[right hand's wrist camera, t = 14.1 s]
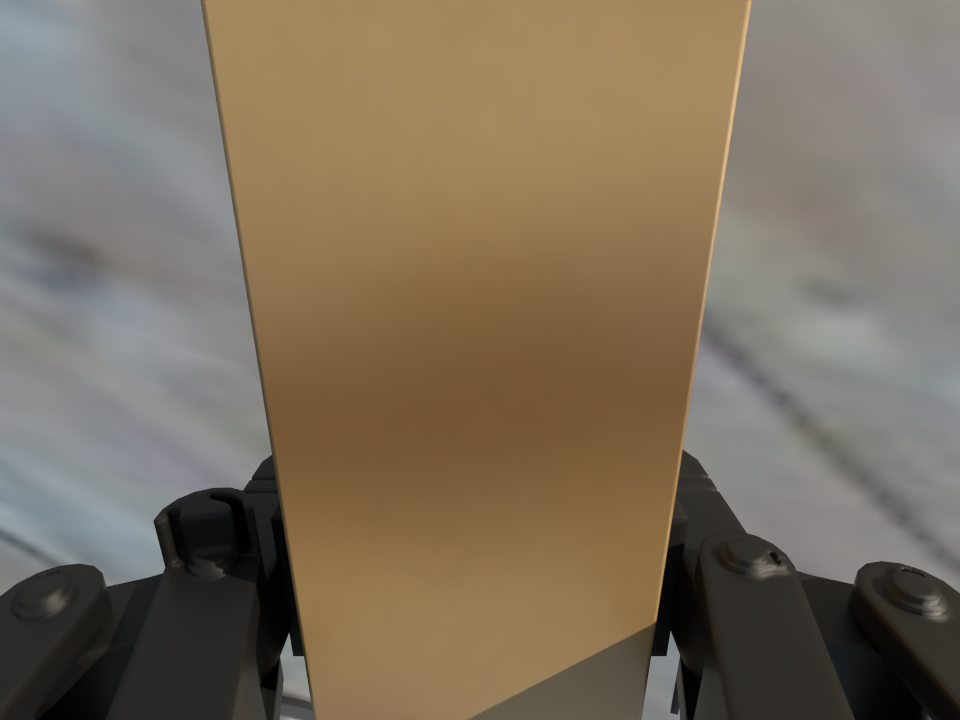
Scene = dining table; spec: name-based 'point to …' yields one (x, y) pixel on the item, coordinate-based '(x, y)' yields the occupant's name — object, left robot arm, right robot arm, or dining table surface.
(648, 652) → the bar
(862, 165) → the dining table surface
